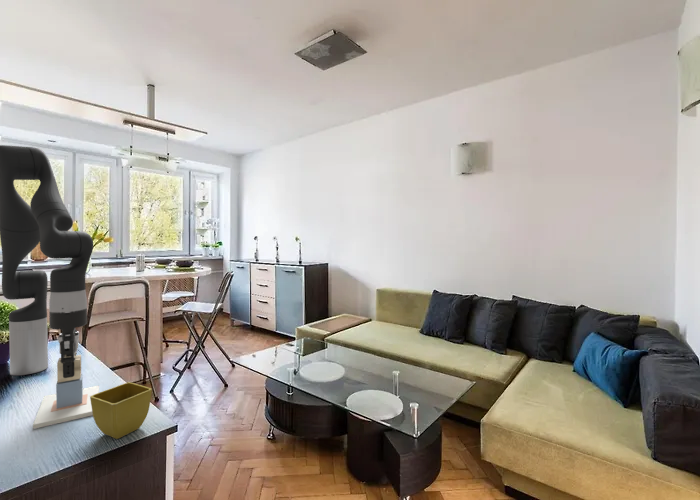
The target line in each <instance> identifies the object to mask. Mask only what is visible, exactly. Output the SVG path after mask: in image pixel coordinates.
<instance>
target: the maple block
mask: <svg viewBox="0 0 700 500" xmlns="http://www.w3.org/2000/svg"><path fill="white" fill-rule="evenodd" d="M69 357H71V356H69ZM65 358H66V357H65ZM56 367H57V369H56V370H57V371H56V374H57V379H56V380H57V381H56V384H57V383H59V382H65V381H70V380H76V379H80V378H81V374H82V354H78V355H77V354H76V356H75V362H74V376H73V377H69V378H63V364H62V363H61V357H58V361H57V362H56Z"/></svg>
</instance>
